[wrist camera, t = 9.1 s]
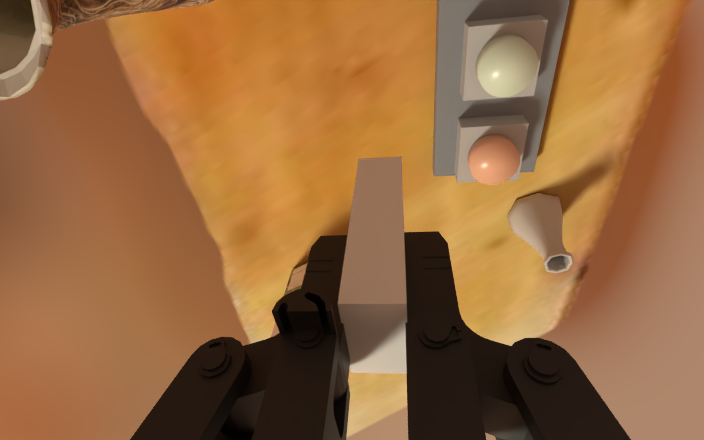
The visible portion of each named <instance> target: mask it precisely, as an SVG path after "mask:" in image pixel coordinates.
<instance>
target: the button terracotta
mask: <svg viewBox="0 0 704 440" xmlns="http://www.w3.org/2000/svg"><path fill="white" fill-rule="evenodd" d="M467 160H468V164H469V167H470V171H471V174H472V176H473V177H474V178H475V179H476V180H477V181H478V182H480V183H483V184H487V185H495V184H500V183H503V182H505V181H507V180H508V179H510V178H511V177H512V176H513V175H514V174H515V173H516V172H517V170H518V168H519V166H520V155H519V152H518V151H517V149H516V147H515V145H514V143H513V142H512V141H511V140H510V139H509V138H508V137H506V136H503V135H499V134H493V135H487V136H485V137H482V138H481V139H479V140H478V141H476V142H475V143H474V144H473V145H472V147H471V148H470V150H469V152H468V157H467Z"/></svg>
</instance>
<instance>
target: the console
mask: <svg viewBox="0 0 704 440" xmlns="http://www.w3.org/2000/svg"><path fill="white" fill-rule="evenodd" d="M569 2H570V0H437V29H436V67H435V104H434V142H433V173H434V176H451V175H455V176H456V180H457V183H458V182H478V181H477V180H476V179H475V178H474V177H473V176H472V174H471V171H470V167H469V164H468V160H467V157H468V152H469V150H470V148H471V147H472V145H473V144H474V143H475V142H476V141H478V140H479V139H481V138H482V137H485V136H487V135H493V134H499V135H503V136H506V137H508V138H509V139H510V140H511V141H512V142H513V143H514V145H515V147H516V149H517V151H518V152H519V155H520V166H519V168H518V170H517V172H516V173H515V174H514V175H513V176H512V177H511V178H510V179H508V180H518V179H519V174H520V172H534V168H535V164H536V159H537V154H538V149H539V145H540V140H541V135H542V130H543V126H544V121H545V116H546V111H547V107H548V102H549V97H550V93H551V88H552V83H553V78H554V74H555V69H556V64H557V59H558V55H559V50H560V45H561V40H562V36H563V31H564V26H565V21H566V17H567V12H568V7H569ZM507 34H512V35H517V36H520V37H522V38H523V39H524V40H526V41H527V42H528V43H529V44H530V45H531V46H532V47H533V48H534V49H535V51H536V53H537V57H538V68H537V72H536V74H535V76H534V78H533V80H532V81H531V83H530V84H529V85H528V86H527V87H526V88H525V89H524V90H522V91H521V92H519V93H517V94H515V95H513V96H509V97H496V96H493V95H490V94H489V93H487V92H486V91H485V90H484V89H483V87H482V85H481V84H480V82H479V80H478V78H477V76H476V70H475V66H476V61H477V57H478V55H479V53H480V51H481V50H482V49H483V47H484V46H485V45H486V44H487V43H488V42H490V41H491V40H492V39H494V38H496V37H498V36H502V35H507Z"/></svg>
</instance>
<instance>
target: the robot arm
mask: <svg viewBox="0 0 704 440" xmlns="http://www.w3.org/2000/svg"><path fill="white" fill-rule="evenodd" d="M272 313H273V316H274V319H275V322H276V324H277V327H278V330H279V332H280V333H278V334H277V335H275V336H273V337H271V338H268V339H266V340H262V341H259V342H255V343H252V344H249V345H245V346H242V344H241V342H239V341H238V340H236V339H234V338H232V337H220V338H216V339H212V340H210V341H208V342H206V343H205V344H203V345H202V346H200V347H199V348H198V349H197V350H196V351H195V352H194V353H193V354H192V355H191V357H190V358H189V359H188V361H187V362H186V363H185V365H184V366H183V367H182V369H181V370H180V372H179V373H178V374H177V376H176V377H175V378H174V380H173V381H172V383H171V384H170V385H169V387H168V388H167V389H166V391H165V392H164V394H163V395H162V396H161V398H160V399H159V401H158V402H157V403H156V405H155V406H154V407H153V409H152V410H151V412H150V413H149V414H148V416H147V417H146V419H145V420H144V421H143V423H142V424H141V425H140V427H139V428H138V429H137V431H136V432H135V434H134V435H133V436H132V438H131V439H130V440H346V434H347V423H348V411H349V400H350V391H349V384H348V376H349V366H350V369H351V373H399V374H407V403H408V438H409V440H486V436H485V433H488V434H491V435H493V436H495V437H496V440H631V439H630V438H629V436H628V435H627V434H626V432H625V431H624V429H623V428H622V427H621V425H620V424H619V422H618V421H617V419H616V418H615V417H614V415H613V414H612V412H611V411H610V410H609V408H608V407H607V405H606V404H605V402H604V401H603V399H602V398H601V397H600V395H599V394H598V392H597V391H596V390H595V388H594V387H593V385H592V384H591V382H590V381H589V380H588V378H587V377H586V375H585V374H584V372H583V371H582V370H581V368H580V367H579V365H578V364H577V362H576V361H575V360H574V359H573V358H572V357H571V356H570V354H569V353H568V352H567V351H566V350H565V349H563V348H562V347H560V346H558V345H557V344H554V343H553V342H551V341H548V340H544V339H540V338H524V339H522V340H520V341H517V342H515V343H514V344H513V345H512V346H508V345H505V344H501V343H498V342H494V341H491V340H488V339H486V338H483V337H481V336H479V335H478V334H476V333H474V332H473V331H472V330H471V329H470V328H468V327H467V326H466V324H465V323H464V321H463V320H462V318H461V315H460V312H459V307H458V302H457V296H456V290H455V284H454V278H453V272H452V267H451V261H450V255H449V249H448V243H447V242H446V241H445V239H444V238H443V237H442V236H441V234H440V233H439V232H405V233H404V216H403V189H402V161H401V156H400V157H383V158H365V159H359V161H358V168H357V175H356V181H355V188H354V195H353V202H352V209H351V215H350V222H349V229H348V235H340V236H320V238H319V239H318V240H317V241H316V242H315V244H314V245H313V246H312V247H311V251H310V255H309V258H308V263H307V266H306V270H305V274H304V278H303V282H302V286H301V289H298V290H294V291H292V292H290V293H288V294H286V295H284V296H283V297H282V298H281V299H280V300H279V301H278V302H277V303H276V305H275V306H274V308H273V310H272Z"/></svg>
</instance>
